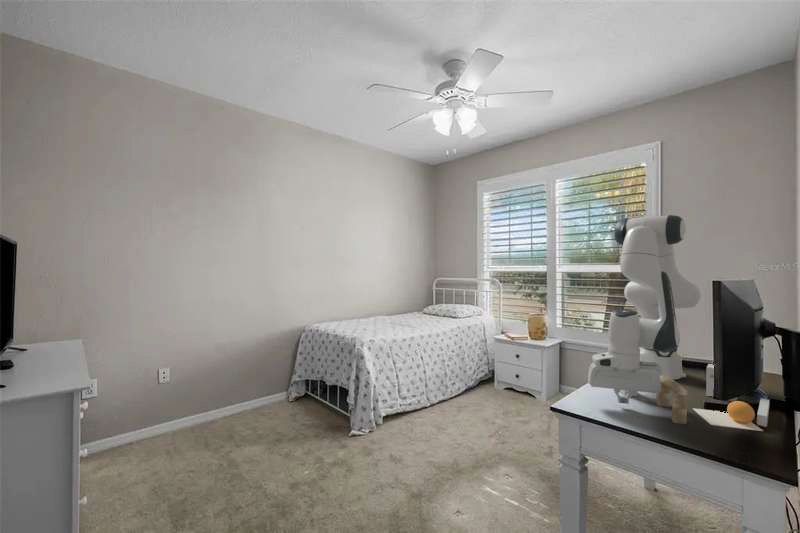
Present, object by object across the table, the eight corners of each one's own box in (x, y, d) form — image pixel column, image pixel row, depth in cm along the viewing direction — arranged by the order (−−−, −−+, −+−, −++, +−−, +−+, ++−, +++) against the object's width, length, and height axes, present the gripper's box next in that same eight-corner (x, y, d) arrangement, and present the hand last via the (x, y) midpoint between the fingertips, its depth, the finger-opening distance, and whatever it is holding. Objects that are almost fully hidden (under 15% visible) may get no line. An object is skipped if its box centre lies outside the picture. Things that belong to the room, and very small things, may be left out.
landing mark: (692, 408, 117) (692, 408, 117) (739, 413, 114) (739, 413, 114) (711, 425, 106) (711, 424, 106) (763, 431, 102) (763, 430, 102)
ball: (754, 413, 109) (734, 423, 111) (738, 395, 111) (718, 405, 113) (764, 419, 104) (743, 429, 105) (747, 399, 106) (726, 409, 107)
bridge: (674, 422, 108) (674, 389, 107) (656, 403, 122) (656, 374, 122) (686, 424, 107) (687, 391, 106) (667, 404, 121) (667, 375, 121)
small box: (738, 398, 126) (738, 368, 126) (736, 402, 122) (737, 371, 122) (707, 392, 132) (708, 363, 132) (705, 396, 128) (706, 366, 128)
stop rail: (760, 407, 119) (760, 398, 119) (769, 409, 117) (769, 399, 117) (756, 424, 106) (757, 414, 106) (766, 426, 105) (766, 416, 105)
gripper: (657, 360, 118) (657, 403, 118) (587, 355, 124) (586, 395, 124) (665, 365, 112) (664, 410, 112) (590, 360, 118) (590, 402, 118)
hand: (622, 402), depth 118 cm, fingers closed
